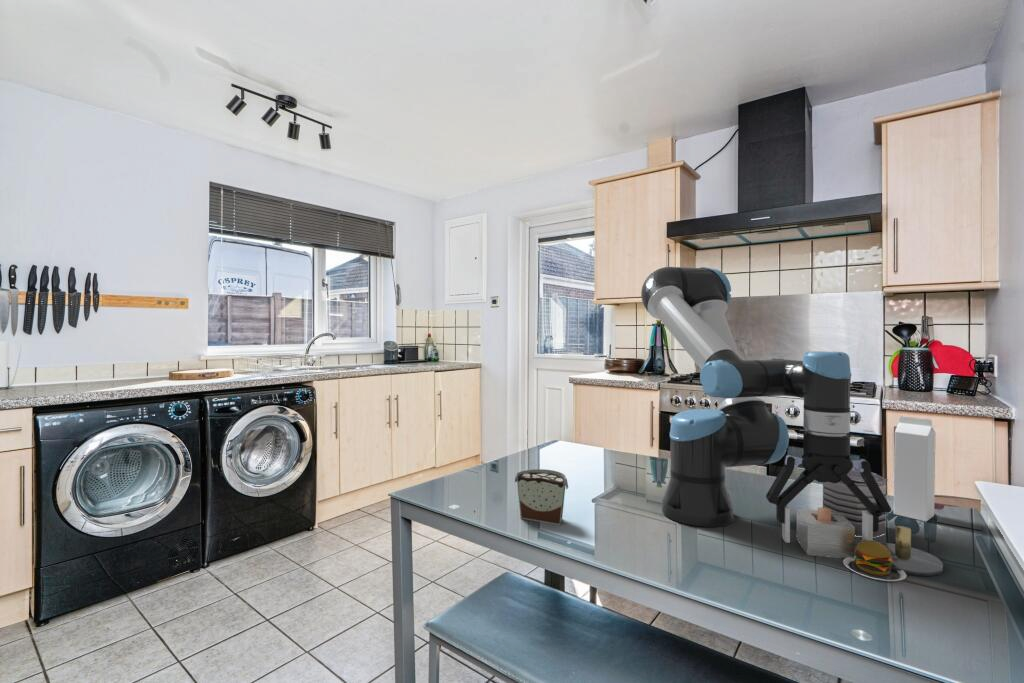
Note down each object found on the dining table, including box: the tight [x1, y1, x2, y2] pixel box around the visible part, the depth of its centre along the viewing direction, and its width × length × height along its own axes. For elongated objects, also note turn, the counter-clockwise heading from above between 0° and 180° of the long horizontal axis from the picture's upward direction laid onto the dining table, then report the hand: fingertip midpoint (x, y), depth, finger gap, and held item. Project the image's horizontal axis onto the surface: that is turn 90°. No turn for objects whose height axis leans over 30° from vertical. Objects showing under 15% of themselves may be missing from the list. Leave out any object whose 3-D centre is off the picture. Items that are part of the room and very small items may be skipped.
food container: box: [514, 468, 569, 526], centre depth 112 cm, size 12×6×10 cm, turn 65°
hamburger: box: [842, 540, 907, 582], centre depth 87 cm, size 12×12×6 cm
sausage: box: [817, 507, 831, 521], centre depth 95 cm, size 2×2×8 cm
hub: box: [880, 525, 944, 577], centre depth 90 cm, size 11×11×6 cm
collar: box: [795, 508, 856, 559], centre depth 95 cm, size 8×8×6 cm
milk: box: [893, 415, 937, 522], centre depth 112 cm, size 6×6×22 cm
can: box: [822, 467, 889, 537], centre depth 106 cm, size 11×11×12 cm
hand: (825, 544), depth 95 cm, fingers open, 13 cm apart
